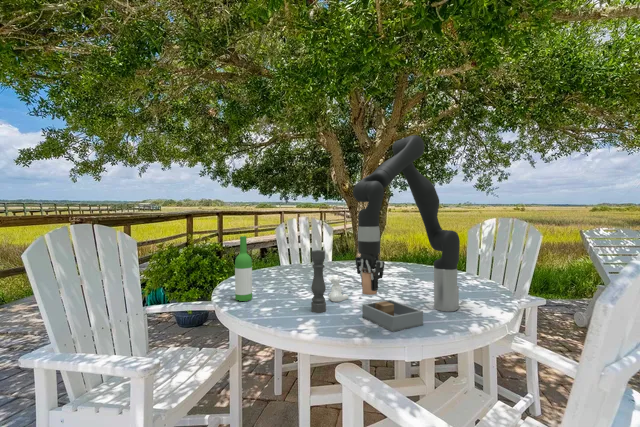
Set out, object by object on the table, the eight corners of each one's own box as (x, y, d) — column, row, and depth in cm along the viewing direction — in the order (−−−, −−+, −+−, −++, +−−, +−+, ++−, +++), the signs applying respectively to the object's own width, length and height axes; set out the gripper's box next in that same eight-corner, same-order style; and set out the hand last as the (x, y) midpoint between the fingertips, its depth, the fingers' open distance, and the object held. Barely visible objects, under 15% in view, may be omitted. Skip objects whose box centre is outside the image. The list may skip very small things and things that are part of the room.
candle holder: (321, 313, 135) (320, 252, 134) (308, 311, 138) (307, 251, 138) (328, 309, 140) (328, 250, 140) (316, 307, 143) (315, 249, 143)
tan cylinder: (371, 290, 118) (370, 270, 117) (380, 293, 113) (379, 273, 113) (359, 292, 115) (359, 272, 115) (368, 295, 111) (367, 274, 111)
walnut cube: (394, 317, 128) (393, 304, 128) (383, 319, 125) (383, 306, 125) (385, 313, 132) (385, 301, 132) (375, 315, 130) (375, 302, 130)
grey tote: (390, 311, 137) (390, 299, 137) (423, 325, 121) (422, 311, 121) (362, 317, 130) (362, 304, 130) (393, 331, 114) (392, 317, 114)
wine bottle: (253, 297, 160) (253, 235, 160) (250, 302, 152) (249, 237, 152) (237, 297, 160) (237, 235, 160) (233, 302, 153) (232, 237, 152)
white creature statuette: (348, 298, 158) (348, 273, 158) (345, 303, 149) (345, 277, 149) (329, 297, 160) (329, 272, 160) (324, 302, 152) (324, 276, 152)
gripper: (391, 240, 109) (391, 291, 110) (365, 237, 122) (366, 283, 122) (372, 241, 106) (373, 295, 106) (348, 238, 119) (348, 286, 119)
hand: (369, 288), depth 114 cm, fingers closed on tan cylinder, 5 cm apart
